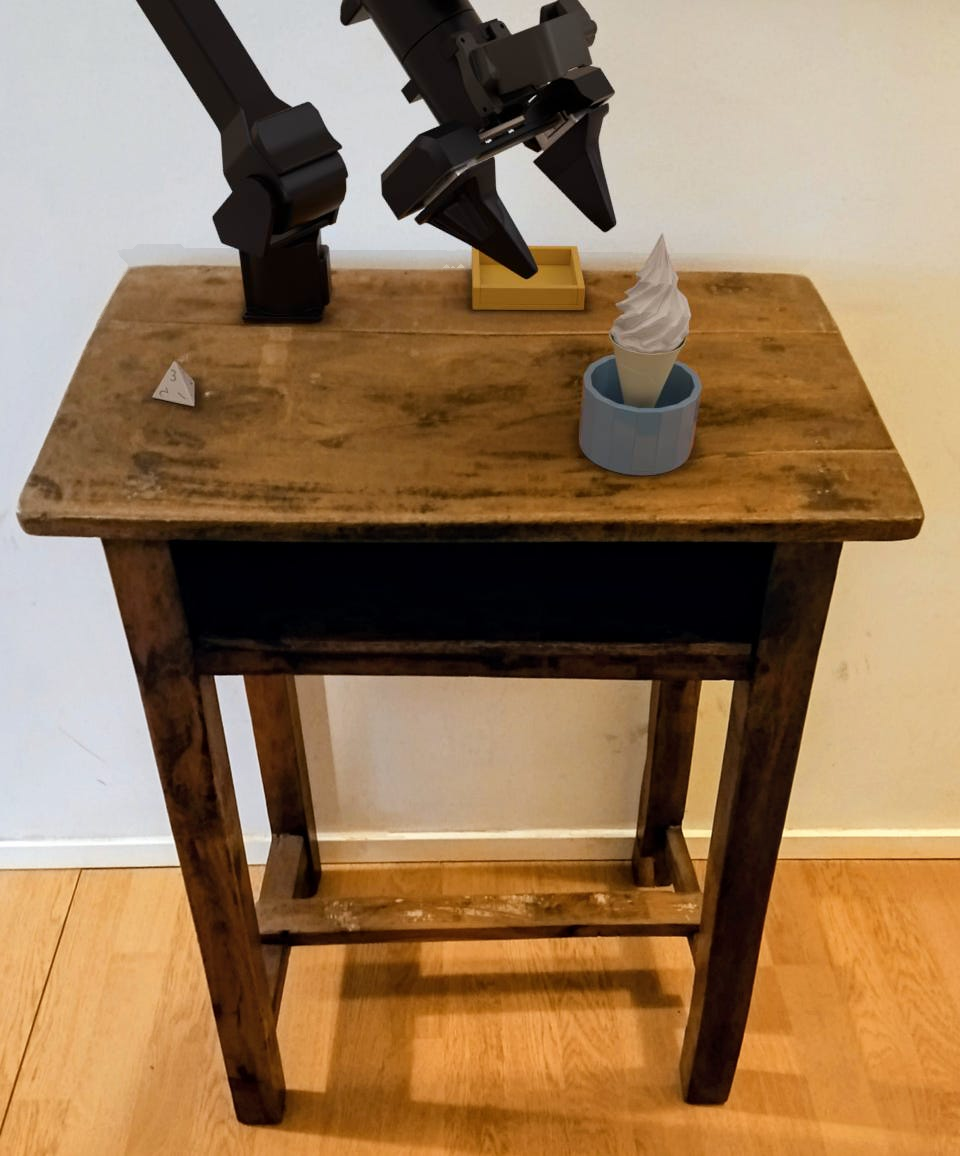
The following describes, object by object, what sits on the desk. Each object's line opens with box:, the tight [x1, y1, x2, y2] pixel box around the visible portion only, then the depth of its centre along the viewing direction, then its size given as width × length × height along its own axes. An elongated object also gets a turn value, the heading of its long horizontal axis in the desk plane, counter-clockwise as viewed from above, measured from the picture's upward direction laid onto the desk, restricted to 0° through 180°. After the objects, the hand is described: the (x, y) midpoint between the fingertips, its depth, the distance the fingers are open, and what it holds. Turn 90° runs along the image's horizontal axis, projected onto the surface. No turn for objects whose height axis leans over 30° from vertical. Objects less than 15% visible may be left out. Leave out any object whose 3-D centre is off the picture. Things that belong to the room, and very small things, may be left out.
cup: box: [578, 353, 703, 476], centre depth 79 cm, size 8×8×5 cm
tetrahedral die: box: [152, 360, 196, 407], centre depth 84 cm, size 4×3×3 cm
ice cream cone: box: [608, 232, 692, 408], centre depth 75 cm, size 5×5×15 cm
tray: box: [471, 245, 586, 311], centre depth 98 cm, size 9×8×2 cm
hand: (573, 251), depth 75 cm, fingers open, 9 cm apart
